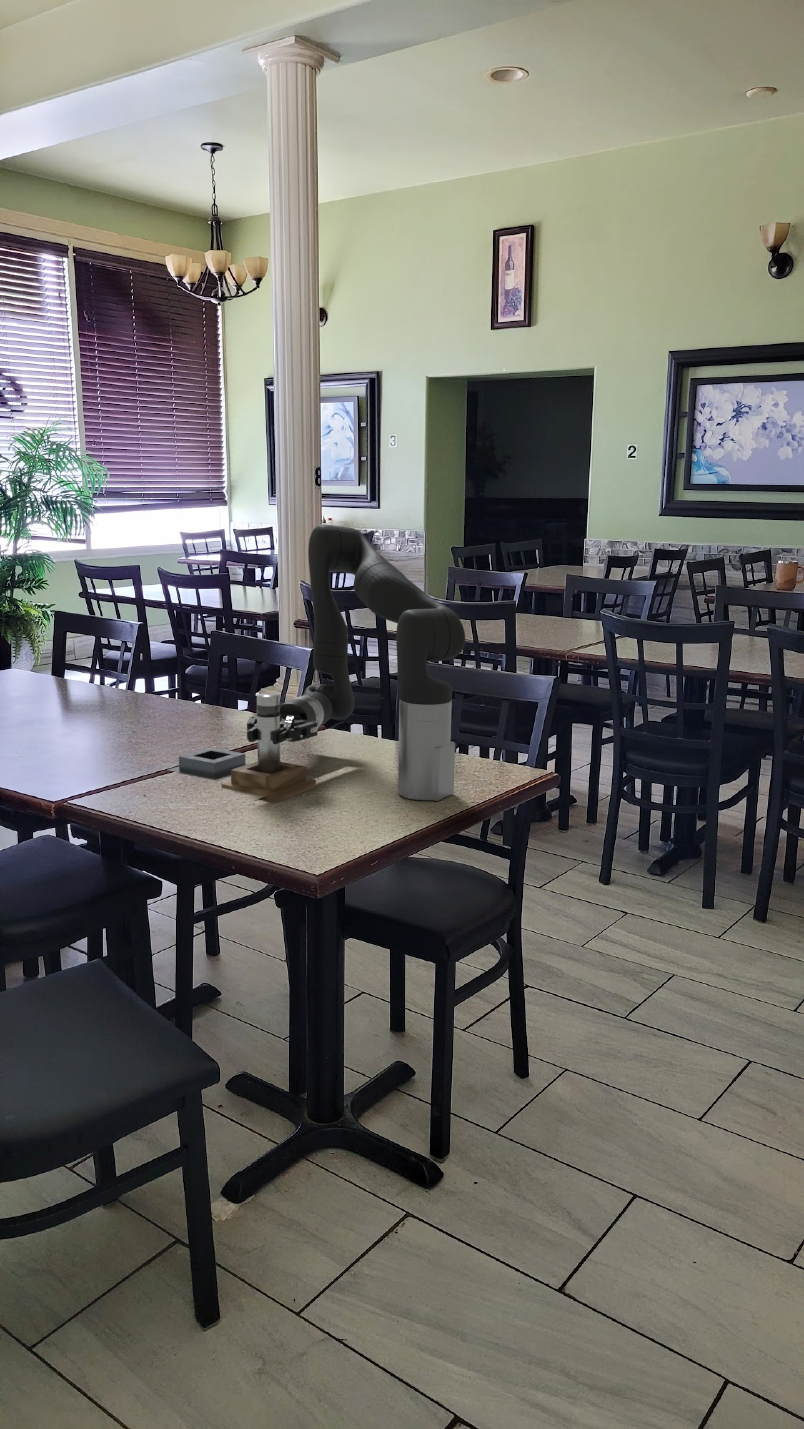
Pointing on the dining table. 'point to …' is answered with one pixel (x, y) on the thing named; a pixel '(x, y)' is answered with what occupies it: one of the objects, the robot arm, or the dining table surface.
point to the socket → (210, 763)
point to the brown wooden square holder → (271, 781)
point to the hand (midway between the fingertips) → (262, 737)
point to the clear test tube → (268, 732)
